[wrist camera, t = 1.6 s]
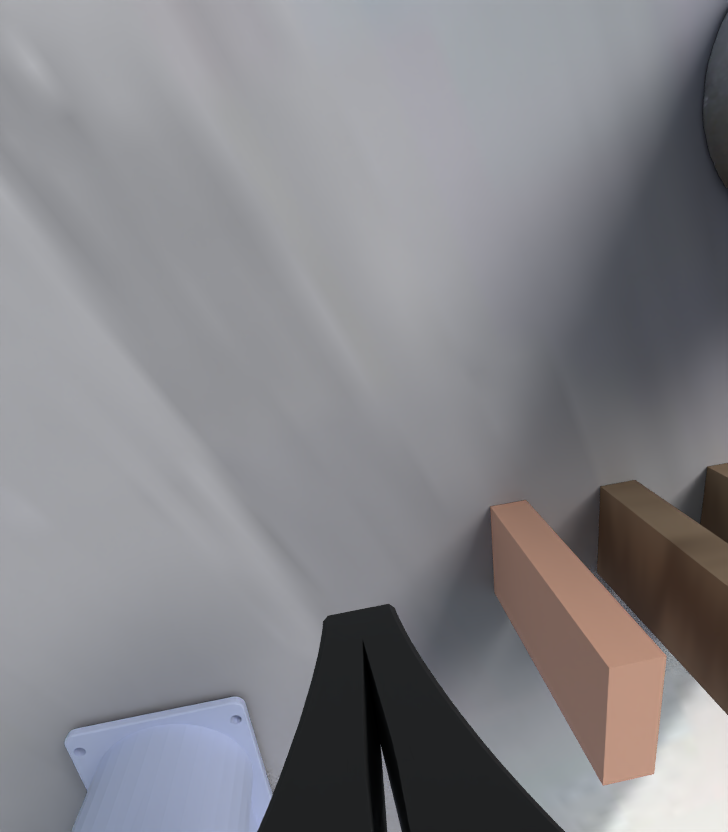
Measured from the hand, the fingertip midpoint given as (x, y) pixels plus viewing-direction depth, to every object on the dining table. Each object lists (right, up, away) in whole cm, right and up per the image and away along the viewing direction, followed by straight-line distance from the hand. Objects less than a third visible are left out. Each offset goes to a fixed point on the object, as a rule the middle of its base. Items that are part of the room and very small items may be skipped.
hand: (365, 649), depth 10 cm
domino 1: (+6, -1, +12) cm, 14 cm away
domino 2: (+11, 0, +12) cm, 17 cm away
